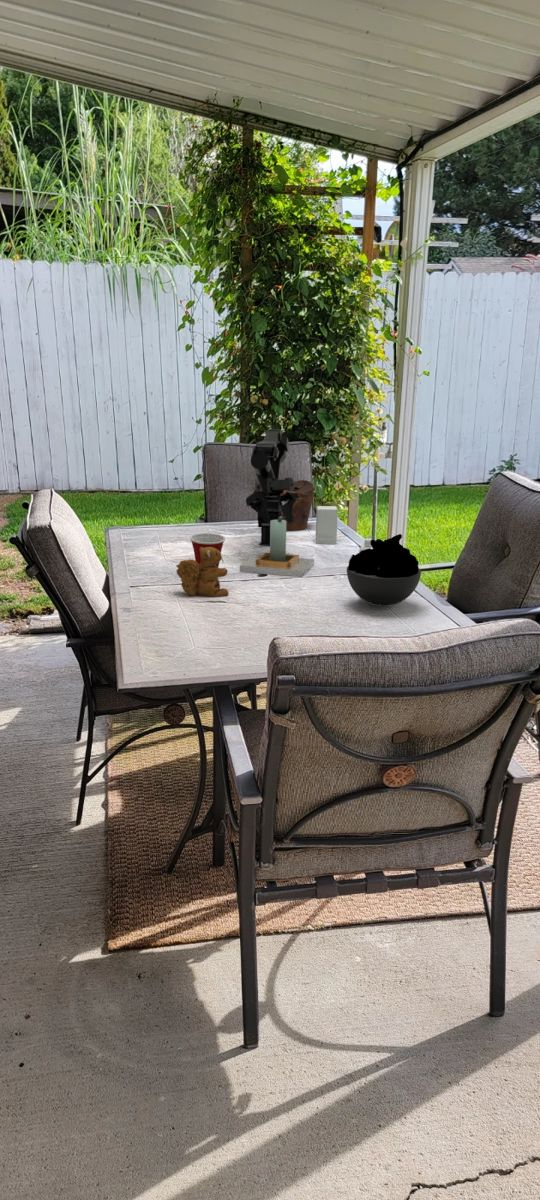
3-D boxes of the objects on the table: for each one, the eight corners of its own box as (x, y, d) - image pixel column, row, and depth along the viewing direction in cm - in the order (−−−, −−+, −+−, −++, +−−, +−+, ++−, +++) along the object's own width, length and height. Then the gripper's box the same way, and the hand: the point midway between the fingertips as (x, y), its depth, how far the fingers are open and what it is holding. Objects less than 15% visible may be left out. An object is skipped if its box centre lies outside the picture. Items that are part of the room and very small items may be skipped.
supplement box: (336, 544, 311) (337, 509, 307) (315, 544, 311) (317, 509, 307) (335, 540, 318) (336, 505, 314) (315, 539, 318) (316, 505, 314)
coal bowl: (368, 618, 225) (371, 547, 220) (332, 598, 242) (334, 532, 237) (433, 610, 233) (438, 542, 227) (394, 592, 250) (397, 527, 245)
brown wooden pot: (262, 531, 331) (263, 484, 326) (270, 521, 350) (272, 477, 345) (308, 534, 328) (311, 487, 323) (314, 524, 347) (317, 479, 342)
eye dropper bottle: (369, 570, 275) (370, 532, 272) (377, 574, 270) (379, 536, 267) (356, 571, 273) (358, 533, 270) (365, 575, 268) (366, 537, 265)
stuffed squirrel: (231, 596, 244) (231, 550, 240) (182, 599, 239) (181, 553, 236) (221, 587, 253) (221, 542, 249) (174, 590, 248) (173, 545, 245)
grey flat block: (239, 571, 270) (239, 560, 269) (254, 560, 285) (254, 550, 284) (301, 577, 265) (302, 565, 264) (313, 565, 280) (314, 554, 279)
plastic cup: (195, 580, 259) (194, 541, 256) (186, 572, 269) (185, 534, 266) (229, 577, 263) (230, 539, 260) (219, 569, 273) (219, 532, 269)
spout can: (267, 560, 276) (268, 514, 272) (281, 559, 278) (282, 513, 274) (273, 564, 272) (274, 516, 267) (288, 562, 273) (289, 516, 269)
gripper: (259, 467, 273) (273, 512, 270) (302, 468, 285) (316, 511, 282) (238, 483, 281) (252, 527, 278) (281, 484, 293) (295, 526, 290)
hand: (280, 522), depth 282 cm, fingers open, 9 cm apart
